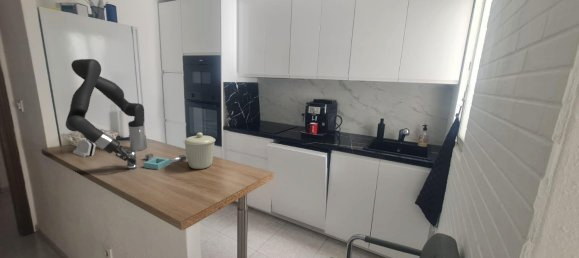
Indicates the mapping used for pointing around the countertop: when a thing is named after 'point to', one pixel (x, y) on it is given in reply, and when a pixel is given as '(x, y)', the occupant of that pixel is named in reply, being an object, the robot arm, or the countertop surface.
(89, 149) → the hinge
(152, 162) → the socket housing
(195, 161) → the canister
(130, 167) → the coupler
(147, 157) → the shaft
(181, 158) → the shaft
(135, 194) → the countertop surface
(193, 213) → the countertop surface
